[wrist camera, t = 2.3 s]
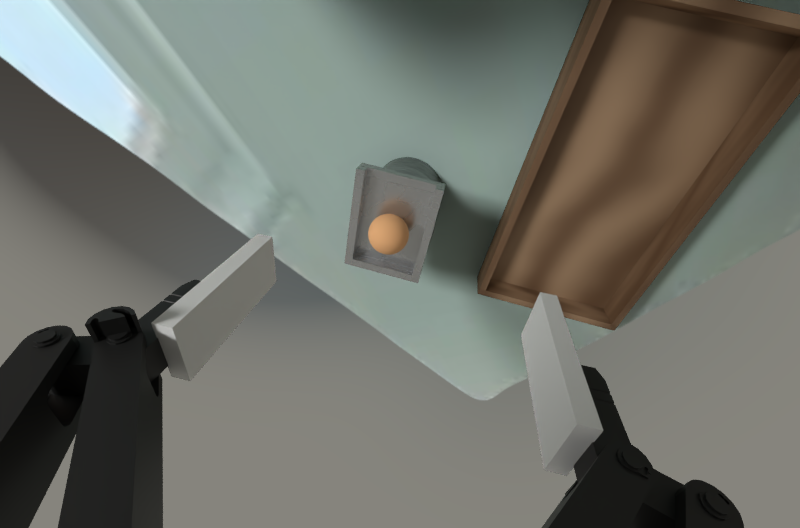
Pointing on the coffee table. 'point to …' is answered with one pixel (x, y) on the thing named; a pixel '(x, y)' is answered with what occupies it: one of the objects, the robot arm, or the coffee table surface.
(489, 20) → the coffee table surface
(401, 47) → the coffee table surface
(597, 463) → the robot arm
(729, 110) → the tray
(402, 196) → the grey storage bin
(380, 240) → the ball
